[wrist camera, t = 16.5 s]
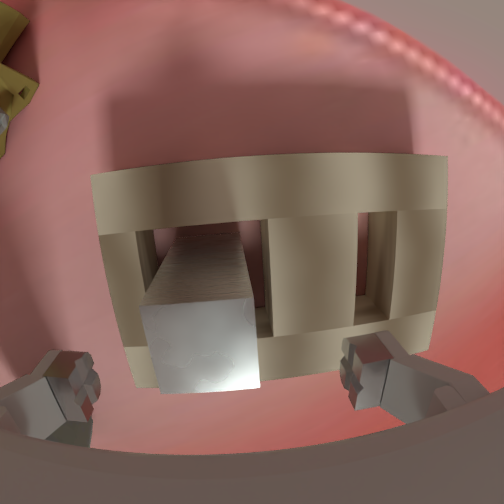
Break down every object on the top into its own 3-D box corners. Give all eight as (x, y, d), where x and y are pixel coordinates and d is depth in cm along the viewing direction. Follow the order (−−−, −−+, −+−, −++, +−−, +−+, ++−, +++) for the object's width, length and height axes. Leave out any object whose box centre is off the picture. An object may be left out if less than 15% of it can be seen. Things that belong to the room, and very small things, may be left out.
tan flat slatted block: (413, 154, 20) (447, 156, 16) (403, 324, 24) (428, 349, 20) (114, 171, 19) (90, 175, 15) (147, 354, 22) (136, 387, 19)
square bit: (239, 231, 21) (253, 297, 11) (244, 290, 22) (260, 387, 12) (176, 237, 20) (138, 306, 11) (184, 295, 21) (161, 393, 12)
